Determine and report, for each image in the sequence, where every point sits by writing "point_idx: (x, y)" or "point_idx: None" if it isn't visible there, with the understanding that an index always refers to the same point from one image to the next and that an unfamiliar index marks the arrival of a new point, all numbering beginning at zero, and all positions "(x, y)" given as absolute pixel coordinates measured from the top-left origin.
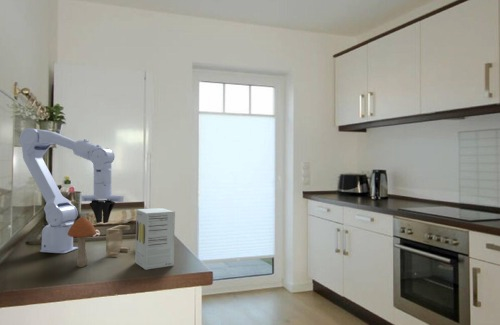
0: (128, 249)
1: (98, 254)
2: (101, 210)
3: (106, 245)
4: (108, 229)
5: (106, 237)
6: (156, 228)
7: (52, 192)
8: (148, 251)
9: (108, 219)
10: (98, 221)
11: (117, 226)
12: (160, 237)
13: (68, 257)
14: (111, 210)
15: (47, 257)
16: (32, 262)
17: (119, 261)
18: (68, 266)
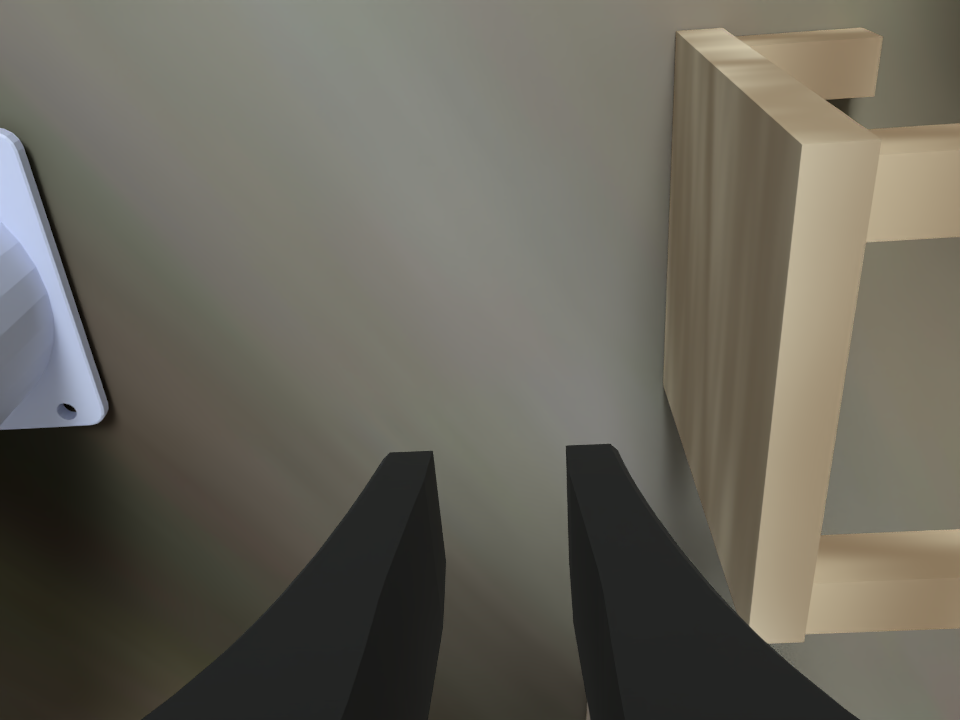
0: (868, 80)
1: (509, 317)
2: (375, 668)
3: (693, 465)
4: (784, 637)
5: (716, 542)
6: None
7: None
8: None
9: (631, 485)
10: (442, 579)
11: (824, 341)
12: None
13: (280, 508)
14: (756, 635)
15: (84, 557)
16: (130, 698)
17: (906, 500)
18: (516, 714)
